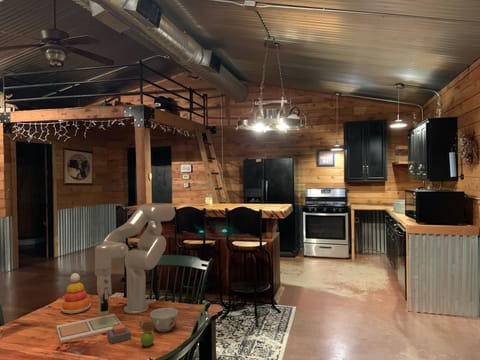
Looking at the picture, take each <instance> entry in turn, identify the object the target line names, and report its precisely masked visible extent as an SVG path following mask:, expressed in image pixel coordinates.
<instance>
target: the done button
mask: <svg viewBox="0 0 480 360" xmlns="http://www.w3.org/2000/svg"><path fill="white" fill-rule="evenodd" d="M125 326H126V325H124V324H123V323H121V324H120V325H115V326H113V333H114V335H116V334H120V333H125Z"/></svg>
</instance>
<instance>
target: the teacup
mask: <svg viewBox="0 0 480 360" xmlns="http://www.w3.org/2000/svg"><path fill="white" fill-rule="evenodd" d="M178 312H179V311H178V309H177V308H174V307H162V308H157V309H154V310H152V311H151V312H150V314H149V317H150V321H152V322H153V325H154V326H153V328H155V329H156V331H159V332H168V331H170V330H171V329H172V328H173V327H174V326H175V324H176V322H177V319H178Z"/></svg>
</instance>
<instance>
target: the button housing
mask: <svg viewBox="0 0 480 360" xmlns="http://www.w3.org/2000/svg"><path fill="white" fill-rule="evenodd" d="M124 326H125V333H120V334H116V335H114V333H113V329H110V330H107V332H106V333H107V335H106V336H107V338H108V340H109V342H110V344H111V345H114V344H118V343H122V342H126V341H130V340H131V339H132V332H131V331H130V329H129V328H128V327H127V325H124Z"/></svg>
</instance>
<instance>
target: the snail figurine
mask: <svg viewBox="0 0 480 360" xmlns="http://www.w3.org/2000/svg"><path fill="white" fill-rule="evenodd" d="M138 326H139V329H140V331H141V332H142V333H143V334H142V335H141V337H140V342H141V344H142V345H143V346H145V347H149V346H152V344H153V343H154V341H155V336H154V333H153V332H154V329H153V328H154V325H153V322H152V321H151V320H145V321H144V322H143V321H142V319H141V317H140V316H138Z"/></svg>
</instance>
